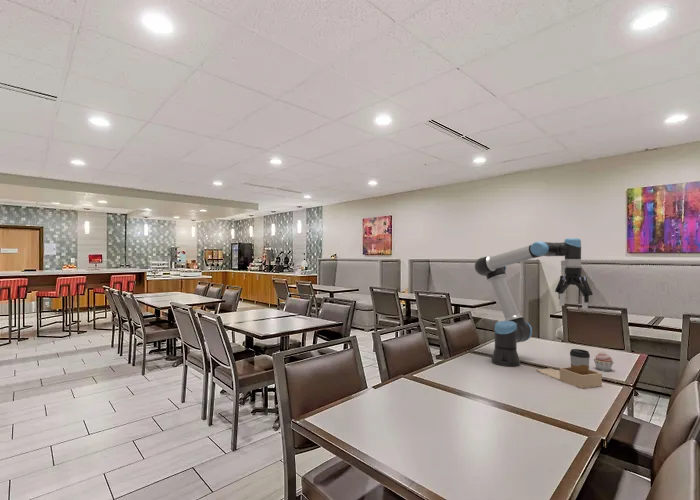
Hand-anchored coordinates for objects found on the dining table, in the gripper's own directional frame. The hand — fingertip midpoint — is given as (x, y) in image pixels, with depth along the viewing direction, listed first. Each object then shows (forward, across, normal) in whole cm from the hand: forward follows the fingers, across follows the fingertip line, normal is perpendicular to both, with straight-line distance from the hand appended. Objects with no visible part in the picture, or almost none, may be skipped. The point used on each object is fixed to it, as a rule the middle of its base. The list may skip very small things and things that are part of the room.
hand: (573, 307), depth 192 cm
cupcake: (+35, 0, -22) cm, 41 cm away
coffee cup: (+34, -13, +11) cm, 39 cm away
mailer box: (+35, -6, +12) cm, 37 cm away
